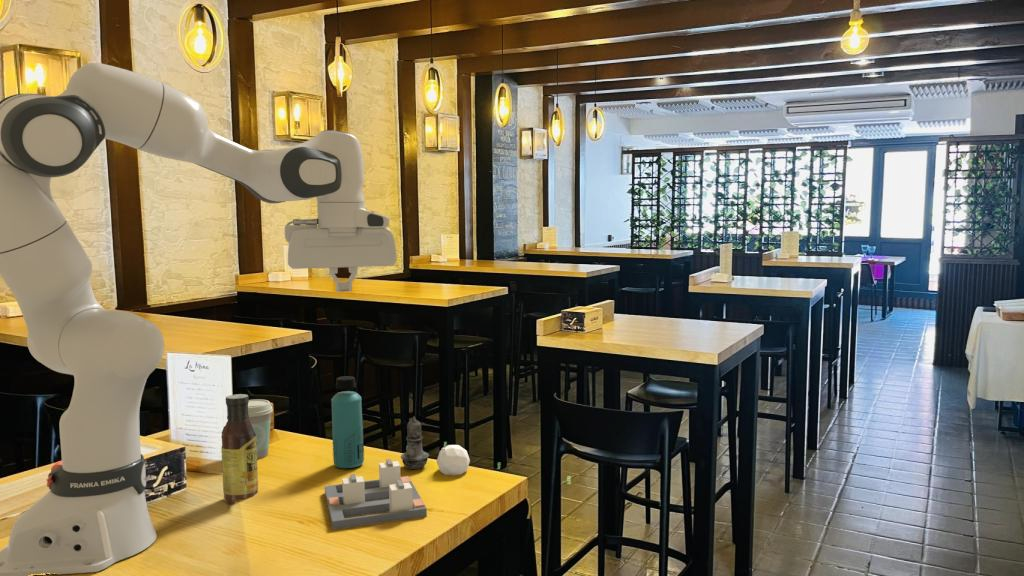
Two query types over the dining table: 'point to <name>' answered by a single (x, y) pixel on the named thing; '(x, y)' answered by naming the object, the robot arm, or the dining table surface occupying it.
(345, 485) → the tab
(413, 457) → the grey tower figurine
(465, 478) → the dining table surface
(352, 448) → the beverage bottle
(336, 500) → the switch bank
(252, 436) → the sauce bottle
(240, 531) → the dining table surface
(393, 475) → the tab
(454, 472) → the ornament
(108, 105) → the robot arm
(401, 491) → the tab
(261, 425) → the coffee cup
